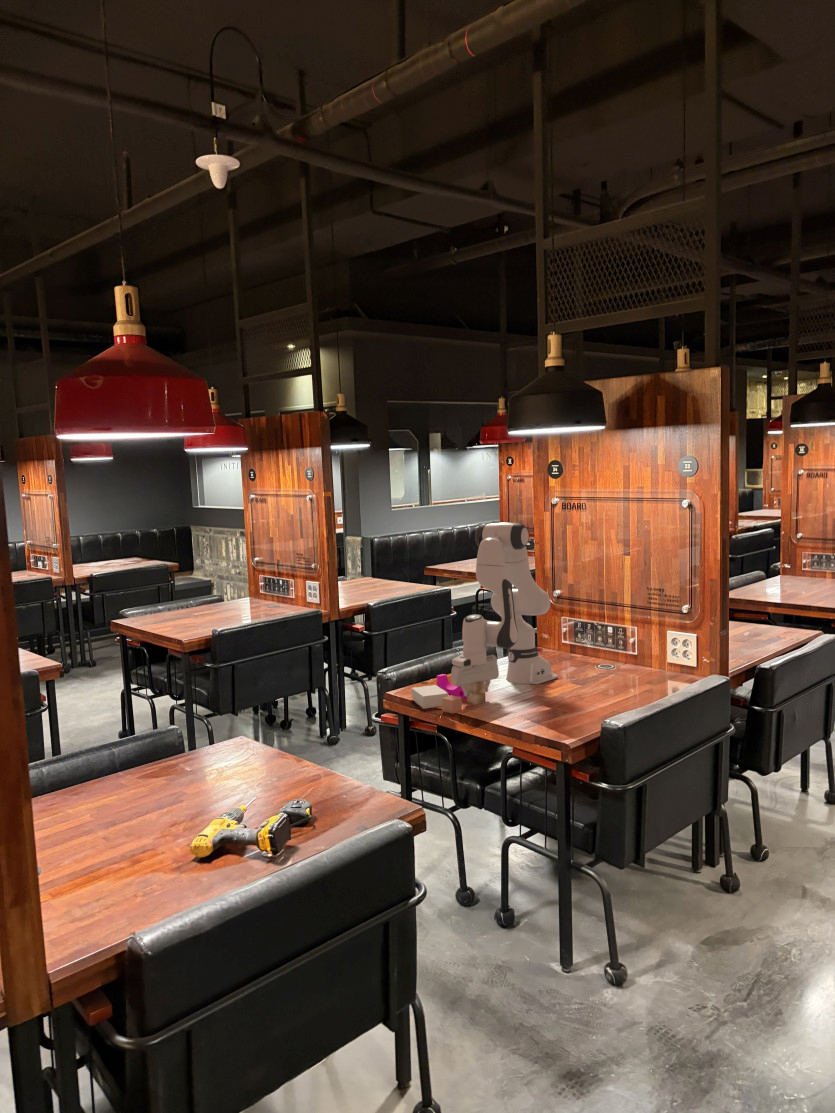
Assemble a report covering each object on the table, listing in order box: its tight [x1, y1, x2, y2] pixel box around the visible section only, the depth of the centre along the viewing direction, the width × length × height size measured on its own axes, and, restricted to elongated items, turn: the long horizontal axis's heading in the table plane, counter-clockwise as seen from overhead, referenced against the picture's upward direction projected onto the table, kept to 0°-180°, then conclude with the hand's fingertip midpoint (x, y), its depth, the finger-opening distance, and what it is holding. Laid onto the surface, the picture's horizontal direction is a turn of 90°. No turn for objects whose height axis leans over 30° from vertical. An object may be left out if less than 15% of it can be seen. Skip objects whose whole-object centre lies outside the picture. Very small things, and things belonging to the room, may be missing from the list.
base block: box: [411, 684, 448, 710], centre depth 307 cm, size 10×14×5 cm
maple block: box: [466, 681, 487, 705], centre depth 305 cm, size 5×5×8 cm
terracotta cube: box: [441, 695, 463, 714], centre depth 294 cm, size 5×5×5 cm
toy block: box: [436, 673, 467, 701], centre depth 316 cm, size 15×6×8 cm, turn 45°
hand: (476, 693), depth 305 cm, fingers open, 7 cm apart
